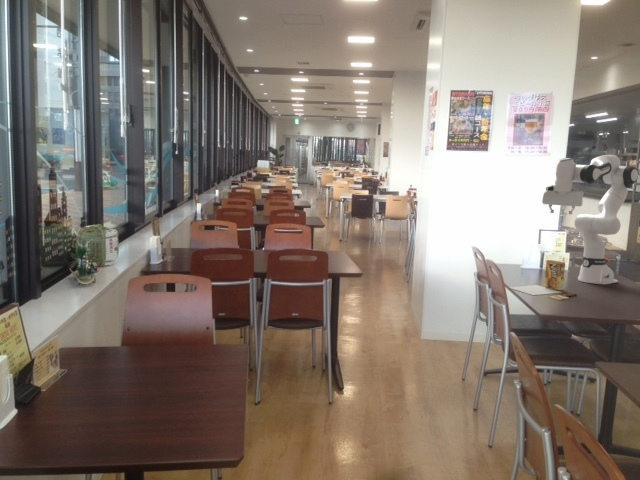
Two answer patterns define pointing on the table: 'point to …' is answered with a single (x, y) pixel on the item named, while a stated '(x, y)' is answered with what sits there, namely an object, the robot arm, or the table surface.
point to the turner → (563, 296)
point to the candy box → (554, 274)
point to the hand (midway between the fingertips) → (561, 213)
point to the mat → (535, 290)
